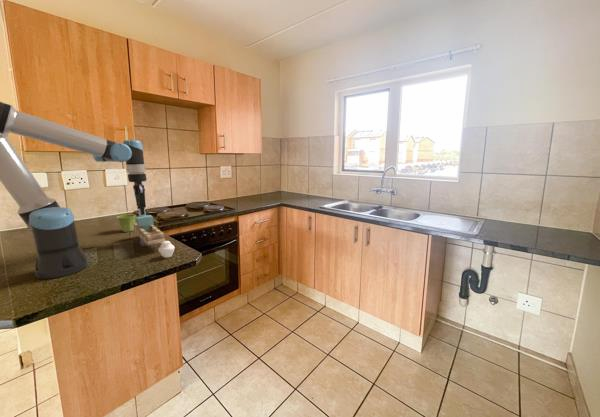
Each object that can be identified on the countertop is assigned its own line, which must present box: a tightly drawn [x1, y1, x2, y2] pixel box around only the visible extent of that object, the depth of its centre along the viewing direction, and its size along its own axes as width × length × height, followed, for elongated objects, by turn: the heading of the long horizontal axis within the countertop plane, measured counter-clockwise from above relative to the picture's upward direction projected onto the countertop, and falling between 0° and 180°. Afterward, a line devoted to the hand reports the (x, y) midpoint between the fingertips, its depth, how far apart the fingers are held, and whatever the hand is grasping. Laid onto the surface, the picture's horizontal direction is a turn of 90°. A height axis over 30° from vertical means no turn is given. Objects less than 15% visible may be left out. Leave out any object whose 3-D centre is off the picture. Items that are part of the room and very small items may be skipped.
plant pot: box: [116, 213, 137, 233], centre depth 151 cm, size 9×9×9 cm
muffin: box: [158, 240, 175, 259], centre depth 112 cm, size 6×6×7 cm
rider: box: [135, 214, 155, 231], centre depth 130 cm, size 5×6×7 cm
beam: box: [133, 221, 166, 248], centre depth 128 cm, size 32×7×8 cm, turn 41°
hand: (143, 220), depth 132 cm, fingers closed
